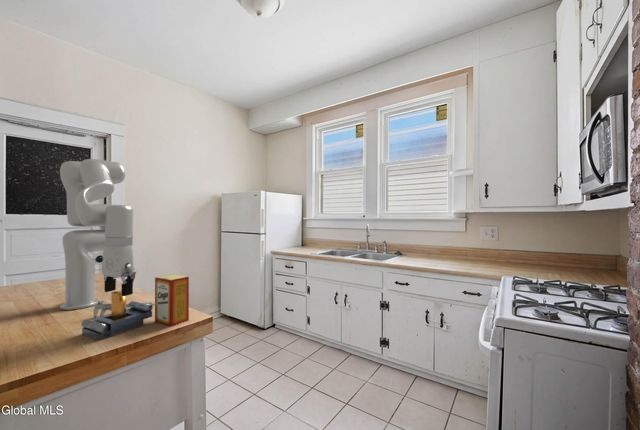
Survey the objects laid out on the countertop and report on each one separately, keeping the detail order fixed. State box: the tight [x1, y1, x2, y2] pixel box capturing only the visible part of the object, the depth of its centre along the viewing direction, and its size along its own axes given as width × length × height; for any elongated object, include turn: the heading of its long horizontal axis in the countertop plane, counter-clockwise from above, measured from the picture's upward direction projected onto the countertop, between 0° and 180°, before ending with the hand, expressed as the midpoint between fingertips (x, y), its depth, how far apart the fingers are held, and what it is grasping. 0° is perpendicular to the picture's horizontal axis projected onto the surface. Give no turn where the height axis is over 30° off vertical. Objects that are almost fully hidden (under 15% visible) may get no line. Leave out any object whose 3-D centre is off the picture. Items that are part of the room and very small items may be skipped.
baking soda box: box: [154, 273, 190, 328], centre depth 99 cm, size 10×6×16 cm
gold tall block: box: [110, 290, 127, 320], centre depth 93 cm, size 4×4×12 cm
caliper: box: [93, 300, 155, 319], centre depth 110 cm, size 20×1×6 cm, turn 142°
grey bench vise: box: [81, 300, 154, 341], centre depth 93 cm, size 10×16×6 cm, turn 154°
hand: (118, 293), depth 93 cm, fingers open, 9 cm apart
